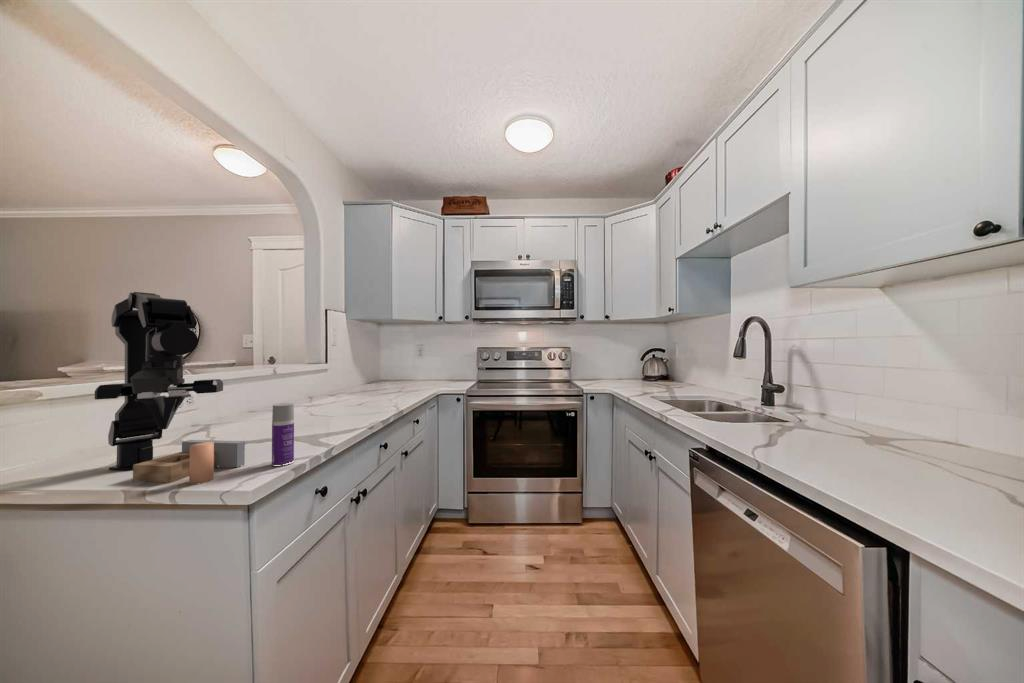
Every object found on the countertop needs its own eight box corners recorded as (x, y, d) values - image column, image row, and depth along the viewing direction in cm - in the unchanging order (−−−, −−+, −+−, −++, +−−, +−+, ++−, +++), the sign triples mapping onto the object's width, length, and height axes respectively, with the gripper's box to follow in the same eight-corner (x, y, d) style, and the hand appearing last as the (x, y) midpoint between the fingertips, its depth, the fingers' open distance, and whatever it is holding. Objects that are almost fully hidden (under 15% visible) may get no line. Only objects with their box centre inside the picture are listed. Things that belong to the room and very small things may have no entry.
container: (285, 466, 85) (286, 405, 86) (267, 466, 85) (267, 406, 86) (297, 460, 90) (298, 403, 90) (280, 461, 90) (280, 403, 90)
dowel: (184, 483, 75) (184, 446, 75) (203, 477, 79) (203, 441, 79) (199, 484, 74) (200, 447, 74) (218, 477, 78) (218, 442, 78)
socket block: (132, 480, 77) (133, 464, 77) (181, 465, 87) (181, 451, 87) (170, 482, 76) (170, 466, 76) (215, 467, 86) (216, 453, 86)
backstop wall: (181, 465, 87) (181, 441, 87) (190, 463, 89) (190, 439, 89) (237, 467, 85) (237, 443, 85) (244, 465, 87) (244, 441, 87)
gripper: (76, 357, 63) (74, 443, 62) (208, 354, 72) (208, 430, 71) (111, 357, 73) (110, 432, 72) (223, 355, 81) (223, 421, 81)
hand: (164, 429), depth 74 cm, fingers closed
